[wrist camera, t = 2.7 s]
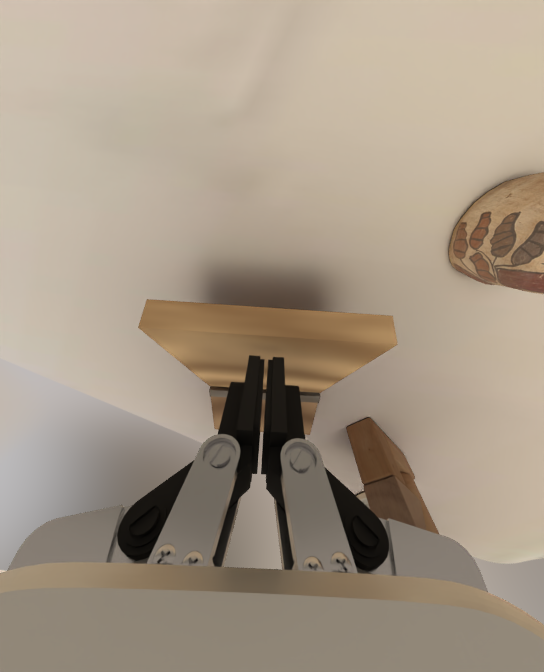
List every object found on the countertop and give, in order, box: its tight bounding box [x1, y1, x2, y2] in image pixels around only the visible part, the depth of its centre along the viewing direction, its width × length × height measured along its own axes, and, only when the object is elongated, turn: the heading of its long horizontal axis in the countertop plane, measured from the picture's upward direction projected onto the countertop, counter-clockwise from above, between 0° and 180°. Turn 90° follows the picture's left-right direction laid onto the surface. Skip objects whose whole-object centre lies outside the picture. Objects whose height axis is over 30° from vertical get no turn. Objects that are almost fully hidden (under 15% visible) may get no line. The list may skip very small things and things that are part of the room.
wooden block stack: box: [347, 418, 439, 534], centre depth 24 cm, size 4×11×18 cm, turn 40°
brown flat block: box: [209, 386, 320, 435], centre depth 27 cm, size 7×12×2 cm, turn 86°
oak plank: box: [138, 299, 397, 393], centre depth 18 cm, size 15×12×2 cm
